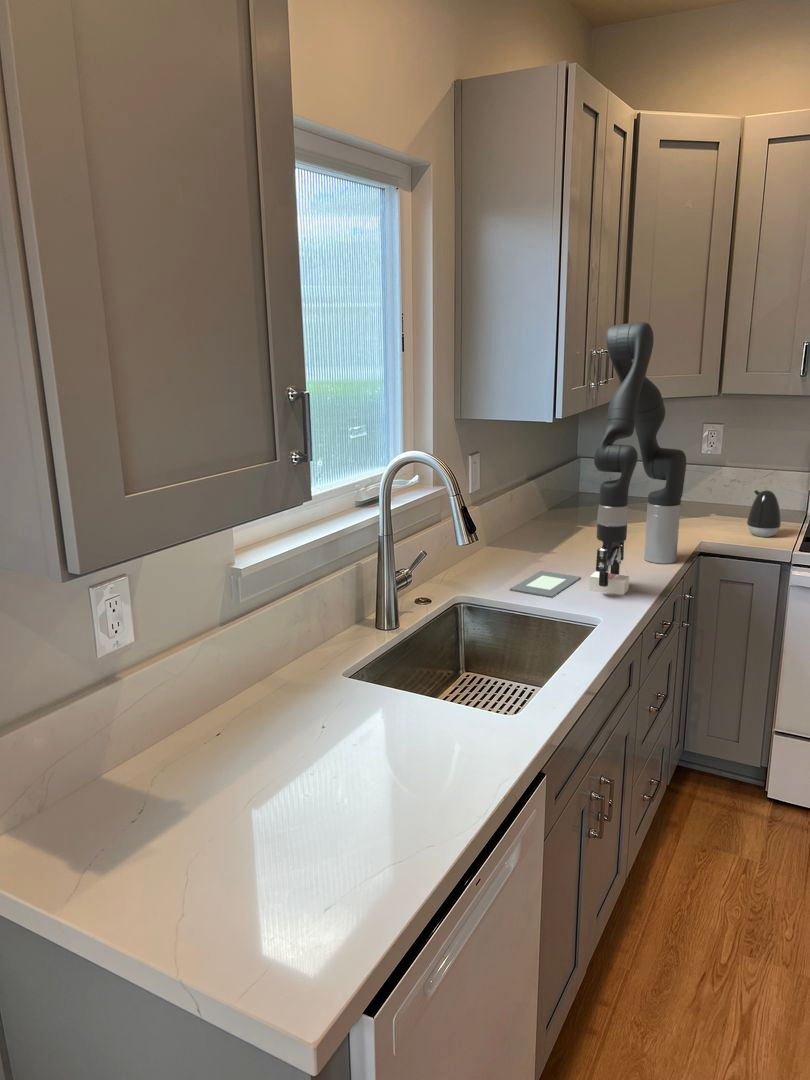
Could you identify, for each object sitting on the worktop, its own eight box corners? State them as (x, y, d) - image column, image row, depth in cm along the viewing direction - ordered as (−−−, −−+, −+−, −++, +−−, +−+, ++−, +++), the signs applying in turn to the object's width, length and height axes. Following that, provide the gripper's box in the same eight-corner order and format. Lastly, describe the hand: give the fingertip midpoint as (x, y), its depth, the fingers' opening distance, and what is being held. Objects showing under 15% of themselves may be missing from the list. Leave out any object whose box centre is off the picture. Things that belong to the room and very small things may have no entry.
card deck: (594, 585, 214) (595, 571, 213) (628, 590, 210) (629, 575, 209) (589, 590, 210) (589, 576, 209) (623, 595, 205) (624, 580, 204)
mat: (540, 571, 226) (540, 570, 226) (581, 578, 220) (581, 576, 220) (509, 590, 210) (509, 588, 210) (552, 597, 204) (552, 595, 204)
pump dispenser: (763, 530, 271) (767, 486, 268) (786, 537, 262) (791, 492, 258) (738, 533, 268) (743, 488, 265) (761, 540, 259) (765, 494, 255)
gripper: (607, 515, 213) (604, 573, 217) (588, 525, 201) (585, 586, 205) (635, 518, 209) (631, 577, 213) (617, 529, 197) (613, 591, 201)
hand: (608, 581), depth 209 cm, fingers open, 8 cm apart
